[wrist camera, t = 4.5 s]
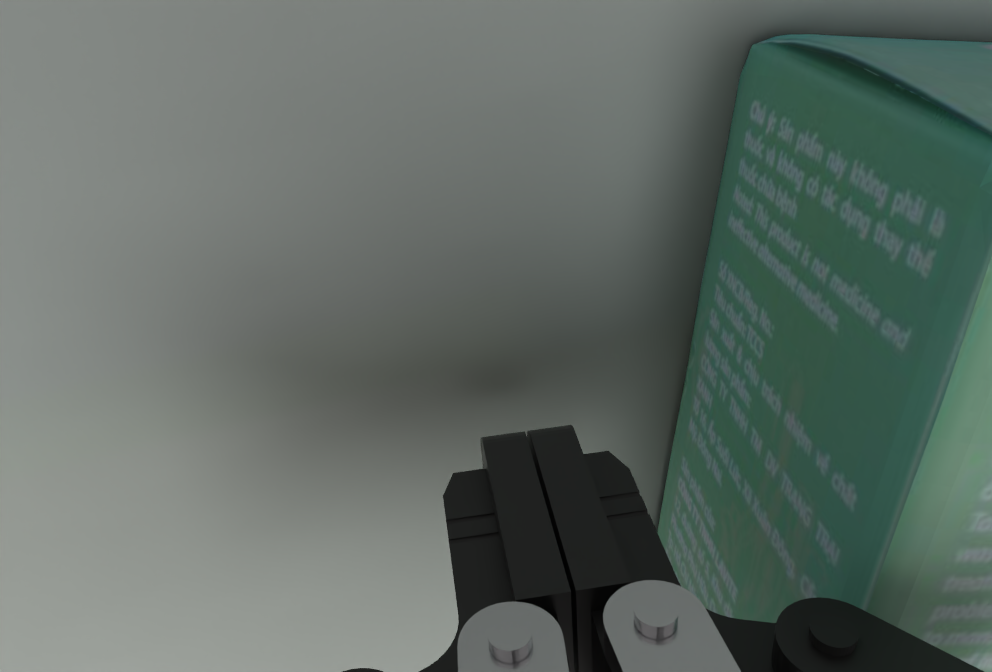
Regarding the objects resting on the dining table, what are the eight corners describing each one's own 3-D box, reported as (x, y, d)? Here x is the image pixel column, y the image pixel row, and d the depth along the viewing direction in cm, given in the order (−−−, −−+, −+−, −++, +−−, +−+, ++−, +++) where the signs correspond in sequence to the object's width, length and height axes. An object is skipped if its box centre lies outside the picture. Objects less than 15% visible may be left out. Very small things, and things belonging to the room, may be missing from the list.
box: (1142, 24, 15) (1713, 156, 9) (915, 591, 22) (1147, 906, 15) (741, 7, 14) (1055, 142, 8) (630, 607, 21) (749, 952, 14)
